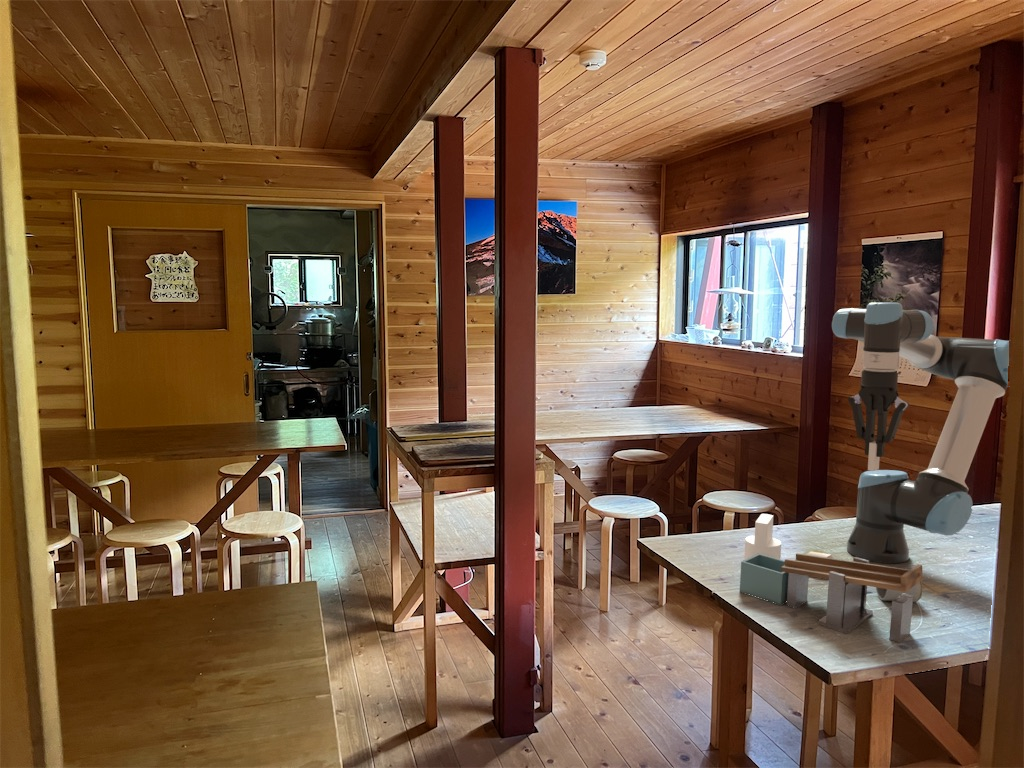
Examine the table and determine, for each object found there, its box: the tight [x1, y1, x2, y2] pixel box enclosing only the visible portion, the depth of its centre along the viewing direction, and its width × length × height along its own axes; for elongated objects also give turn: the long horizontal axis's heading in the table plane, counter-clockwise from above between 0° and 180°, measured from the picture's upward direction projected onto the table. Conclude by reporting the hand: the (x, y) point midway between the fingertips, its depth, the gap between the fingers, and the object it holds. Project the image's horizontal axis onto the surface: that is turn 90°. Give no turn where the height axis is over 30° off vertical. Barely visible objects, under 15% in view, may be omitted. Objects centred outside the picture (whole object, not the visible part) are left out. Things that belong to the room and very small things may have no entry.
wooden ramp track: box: [781, 552, 924, 592], centre depth 161 cm, size 15×26×3 cm, turn 44°
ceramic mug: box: [875, 579, 924, 603], centre depth 172 cm, size 11×8×8 cm
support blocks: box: [786, 556, 914, 644], centre depth 159 cm, size 14×24×12 cm, turn 44°
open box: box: [739, 553, 789, 606], centre depth 173 cm, size 8×10×8 cm
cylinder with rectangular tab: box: [743, 513, 782, 561], centre depth 193 cm, size 9×9×12 cm
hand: (873, 469), depth 172 cm, fingers closed
